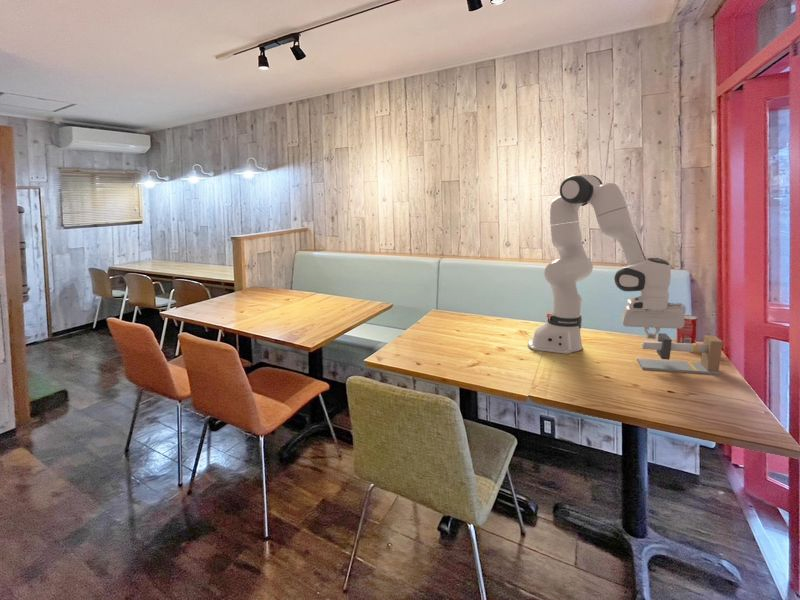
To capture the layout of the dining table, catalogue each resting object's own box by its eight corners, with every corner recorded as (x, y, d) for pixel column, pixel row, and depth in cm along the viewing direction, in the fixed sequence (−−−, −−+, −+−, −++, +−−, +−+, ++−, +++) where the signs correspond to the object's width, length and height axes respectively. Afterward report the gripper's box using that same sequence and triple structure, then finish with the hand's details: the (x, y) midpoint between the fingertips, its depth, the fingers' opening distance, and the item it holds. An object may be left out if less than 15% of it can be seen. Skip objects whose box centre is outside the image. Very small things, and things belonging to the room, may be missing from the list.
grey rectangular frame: (661, 359, 164) (664, 339, 162) (656, 352, 171) (658, 333, 169) (669, 359, 163) (671, 340, 161) (663, 352, 170) (666, 333, 168)
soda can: (698, 349, 183) (701, 319, 180) (678, 349, 184) (682, 319, 181) (690, 343, 190) (694, 314, 187) (672, 343, 191) (675, 314, 188)
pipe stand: (642, 369, 166) (645, 338, 163) (637, 360, 174) (640, 331, 171) (720, 374, 159) (724, 342, 156) (710, 365, 167) (715, 334, 164)
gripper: (683, 301, 163) (679, 337, 166) (622, 299, 169) (619, 334, 172) (689, 305, 157) (684, 342, 161) (625, 303, 163) (622, 339, 166)
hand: (650, 338), depth 167 cm, fingers closed
